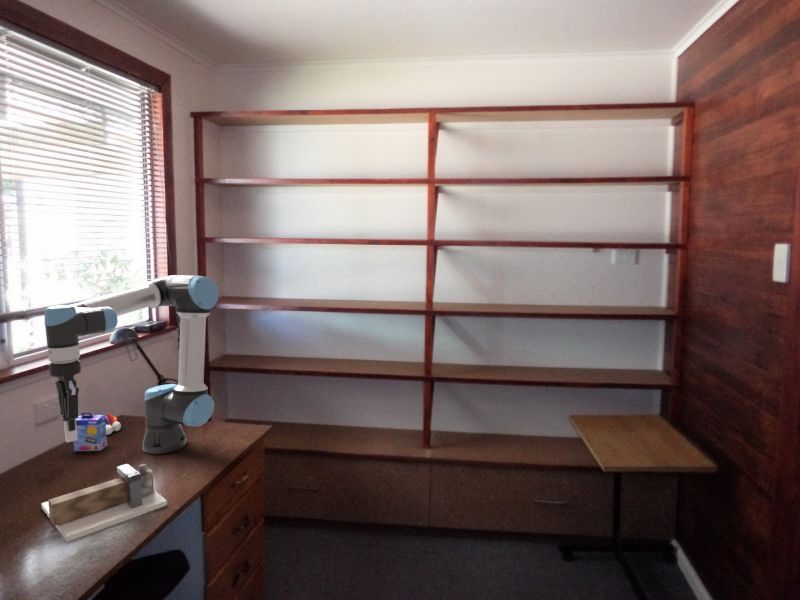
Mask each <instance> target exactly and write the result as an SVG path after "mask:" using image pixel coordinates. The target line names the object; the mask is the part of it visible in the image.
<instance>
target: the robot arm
mask: <svg viewBox="0 0 800 600" xmlns="http://www.w3.org/2000/svg"><path fill="white" fill-rule="evenodd" d="M218 301H219V290H218V287H217V285H216V283H215V282H214V281H213V280H212V279H211V278H210V277H208V276H203V275H189V274H188V275H185V274H183V275H181V274H174V275H168V276H163V277H160V278H157V279H154V280H150V281H146V282H144V283H143V284H142V285H141V286H138V287H134V288H130V289H127V290H123V291H118V292H115V293H111V294H107V295H102V296H100V297H95V298H92V299H91V298H90V299H88V300H84V301H81V302H77V303H72V304H66V305H65V304H63V305H61V304H60V305H53V306H49V307H47V308H45V309H44V327H45V335H46V344H47V345H46V346H47V351H45V355H47V356H48V361H49V363H48V368H49V376H51V377H53V378H57V381H55V386H56V391H57V397H58V398H57V399H58V404H59V410H60V411H59V412H60V415H61V416H62V422H63V426H64V439H65V442H66V443H71V442H73V441H75V440H78V437H77V425H76V418H78V416H79V392H80V391H79V390H80V388H79V387H77V380H76V379H75V377H74V376H75V375H78V374H79V373H81V371H82V368H81V360H80V359H79V358H80V357H81V353H80V352H81V351H80V344H79V342H80V341H79V338H81V337H85V336H90V335H97V334H101V333H102V334H104V333H107V332H110V331H113V330H114V329H116V328H117V326H118V317H119V316H122V315H125V314H128V313H133V312H136V311H139V310H142V309H146V308H151V309H155V308H158V307H175V308H176V311H175V312H176V314H177V315H178V316H179V317H180V326H179V328H180V329H179V350H178V351H179V353H178V354H179V355H178V376H177V377H178V380H177V383H169V384H162V385H156V386H153V387H150V388H148V389H146V391H144V399H143V400H144V401H143V402H144V413H145V426H146V429H145V434H144V437H143V438H142V439H143V440H142V445H141V447H142V451H143V452H144V453H146V454H149V455H160V454H161V455H162V454H168V453H172V452H176V451H179V450H180V449H182V448H184V447H185V446H186V444H187V437H186V433H185V432H184V429H183V428H182V427H183V426H186V427H200V426H203V425H204V424H205V423H207V422H208V421H209V419H210V418H211V417H212V415H213V412H214V409H215V402H214V399H213V398H212V396H211V395H209V394H208V392H209V391H208V390H209V389H208V386H207V385H206V384H205V382H204V379H205V377H204V376H205V375H204V374H205V357H206V356H205V354H206V353H205V352H206V328H207V327H206V326H207V325H206V323H207V318H208V317H209V315H210V314H211V311H212V310H211V309H212V308H214V307H215V306H216V304H217V303H218ZM182 425H183V426H182Z"/></svg>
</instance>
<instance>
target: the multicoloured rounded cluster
mask: <svg viewBox="0 0 800 600" xmlns="http://www.w3.org/2000/svg"><path fill="white" fill-rule="evenodd" d="M105 424H106V436H109V435H111V434H112V433H113V432H114V431H116V432H118V431H120V430H121V427H122V425H121V423H120V422H119V421H118V418H117V417H116V416H113V414H111V413H108V414H106V415H105Z"/></svg>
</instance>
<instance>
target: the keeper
mask: <svg viewBox="0 0 800 600" xmlns="http://www.w3.org/2000/svg"><path fill="white" fill-rule="evenodd" d="M116 473H117V474H118V475H119V476H121V477H123V478H124V479H125V480H126V489H127V503H128V506H129V507H130V508H131V509H133V508H135V507H138V506H141V505H142V491H141V476H140V473H139V472H138V470H136V469H135V468H134V467H133V466H131V465H130V464H129V463H125V464H121V465H118V466H116Z"/></svg>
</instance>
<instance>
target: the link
mask: <svg viewBox="0 0 800 600" xmlns="http://www.w3.org/2000/svg"><path fill="white" fill-rule="evenodd" d="M137 472H139V473H140V476H141V491H142V496H147V495H149V494H151V493H153V492H154V490H155V488H154V474H153V473H154V471H153V470H151V469H147V464H146V463H141V464H139V465H138V470H137ZM47 501H48V502H49V513H50V519H49V521H50V522H51V524H52V525H53V526H54V527H55V526H56V525H59V524H62V523H65V522H68V521H71V520H74V519H76V518H79V517H82V516H85V515H88V514H91V513H94V512H97V511H100V510H103V509H106V508H109V507H112V506H115V505H118V504H120V503H123V502H126V501H127V489H126V480H125V479H124V478H123V477H122V476H121V477H118V478H115V479H111V480H108V481H105V482H101V483H98V484H96V485H92V486H88V487H86V488H82V489H79V490H75V491H71V492H69V493H66V494H63V495H59V496H56V497H53V498H50V499H47Z"/></svg>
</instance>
